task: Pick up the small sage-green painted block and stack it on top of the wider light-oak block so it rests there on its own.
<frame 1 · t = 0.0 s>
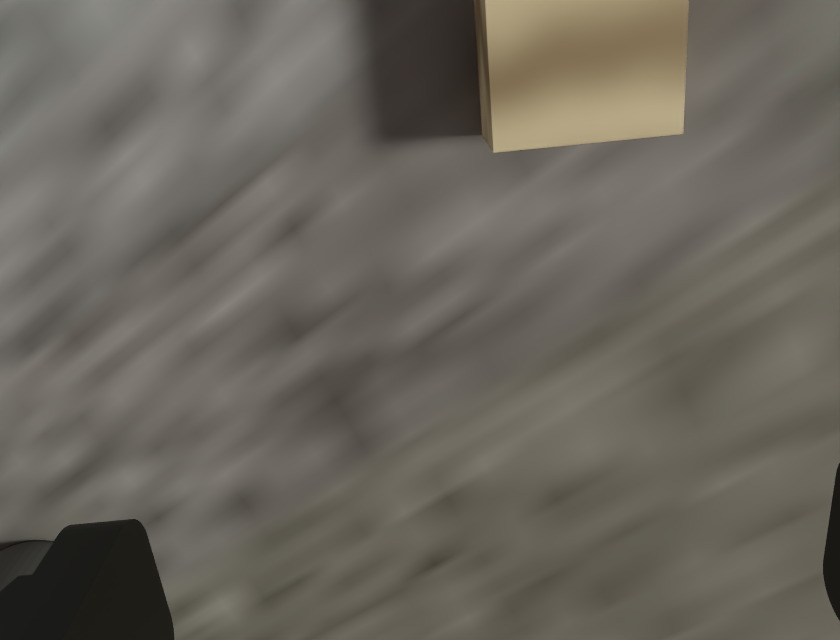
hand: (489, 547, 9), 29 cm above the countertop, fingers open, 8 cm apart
mug: (91, 597, 46), on the countertop
oak block: (562, 37, 34), on the countertop
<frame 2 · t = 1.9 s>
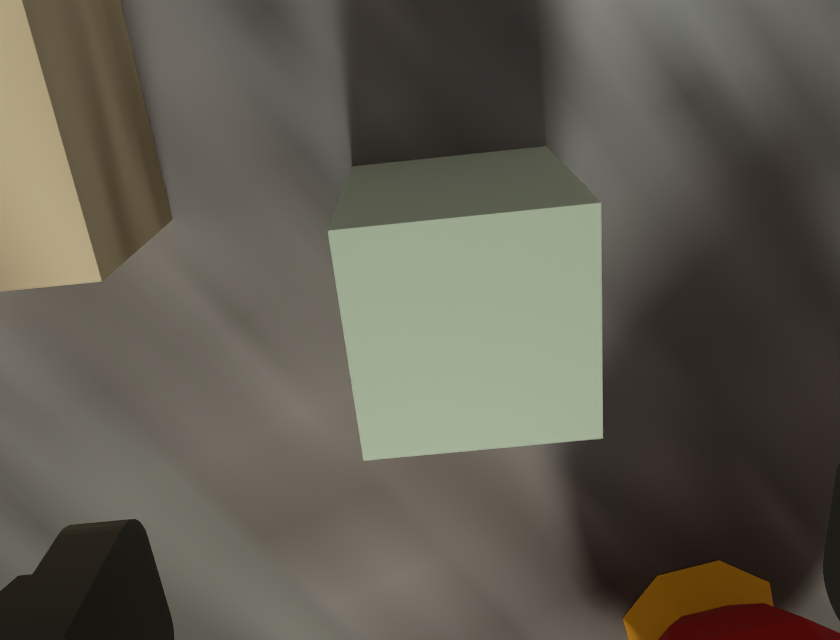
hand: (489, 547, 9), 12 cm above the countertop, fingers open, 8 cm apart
sage block: (456, 248, 20), on the countertop
potion bottle: (694, 617, 25), on the countertop
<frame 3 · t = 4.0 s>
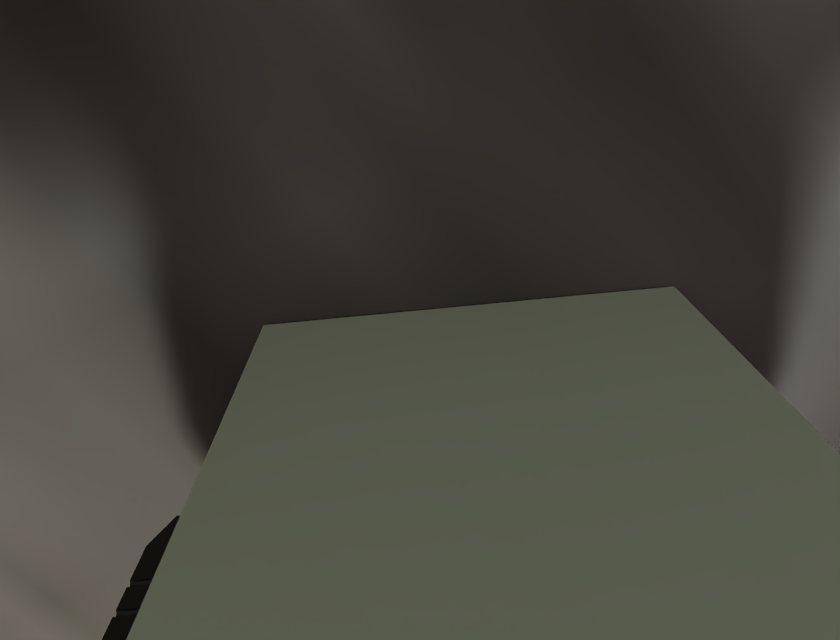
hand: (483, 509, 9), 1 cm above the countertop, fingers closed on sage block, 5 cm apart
sage block: (480, 477, 10), on the countertop, touching gripper
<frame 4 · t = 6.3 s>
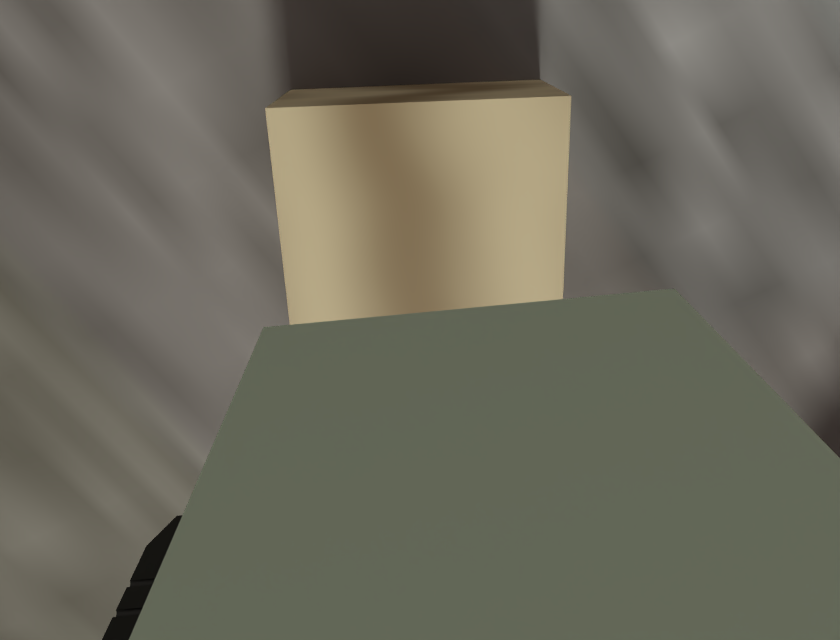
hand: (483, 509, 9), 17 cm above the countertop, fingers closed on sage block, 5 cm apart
sage block: (480, 479, 10), point 16 cm above the countertop, touching gripper
oak block: (420, 205, 26), on the countertop
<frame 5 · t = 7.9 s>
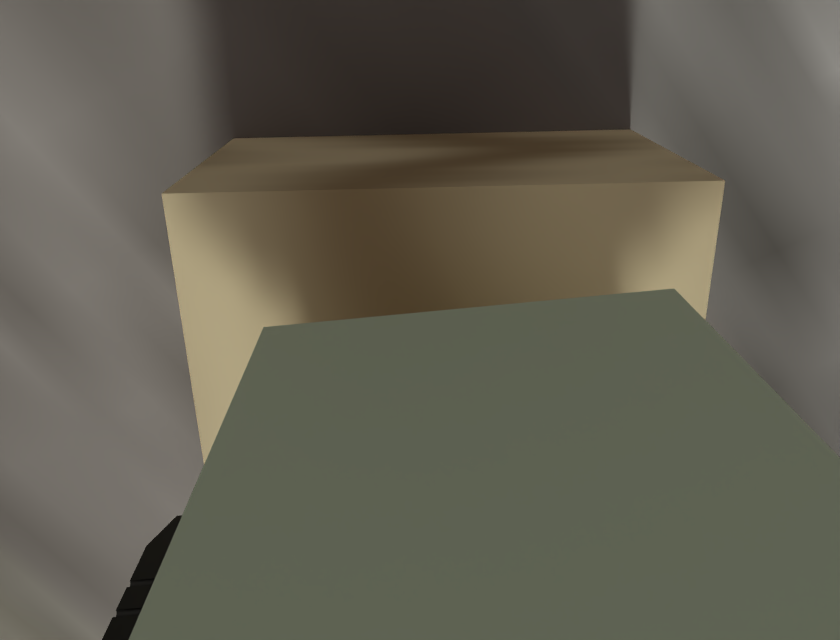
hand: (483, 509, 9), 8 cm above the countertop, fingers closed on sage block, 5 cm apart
sage block: (480, 479, 10), point 7 cm above the countertop, touching gripper
oak block: (434, 313, 17), on the countertop
when the fingers open (7 cm above the countertop, at t = 9.0 s): sage block drops 1 cm, resting on oak block.
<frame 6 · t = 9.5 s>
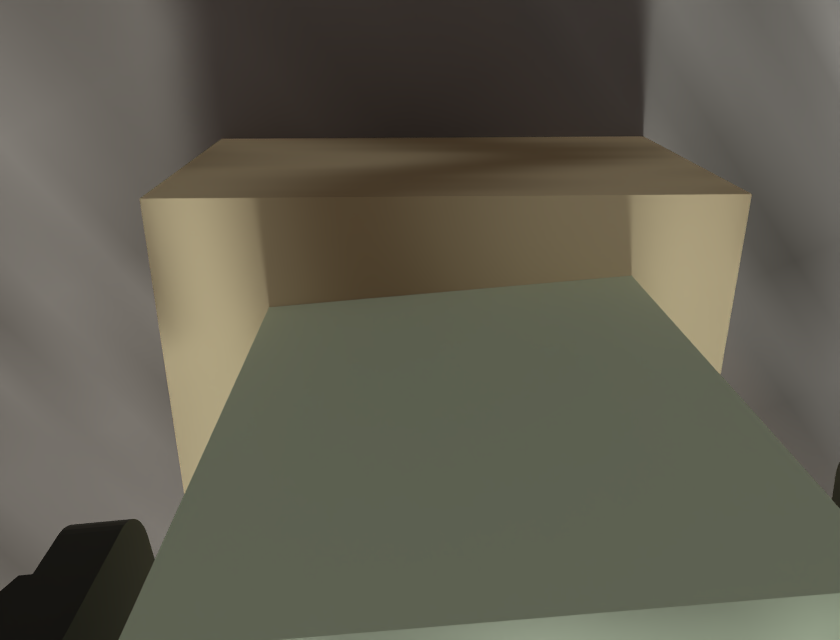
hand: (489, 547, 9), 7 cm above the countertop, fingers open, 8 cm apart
sage block: (461, 447, 11), point 5 cm above the countertop, touching oak block
oak block: (432, 326, 16), on the countertop, touching sage block
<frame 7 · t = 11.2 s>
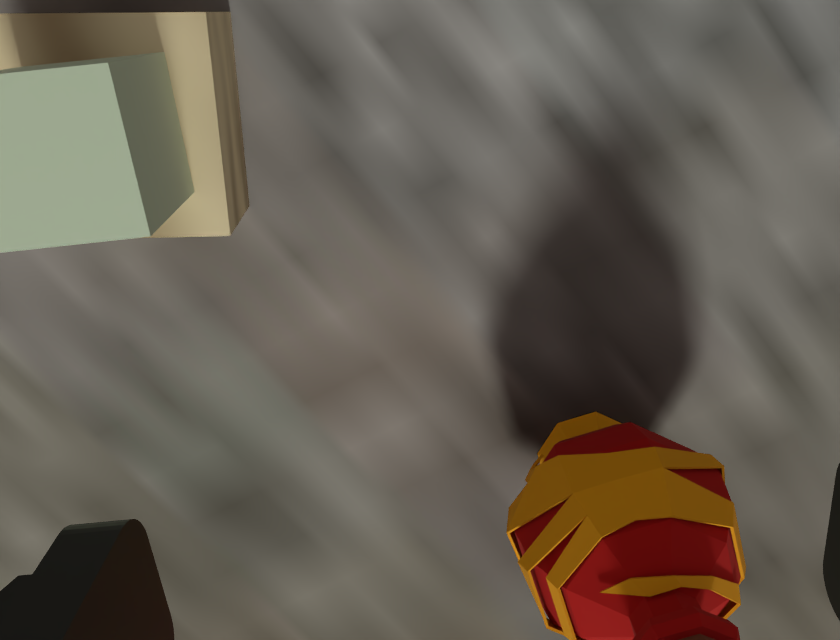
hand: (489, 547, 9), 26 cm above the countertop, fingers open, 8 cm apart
sage block: (111, 131, 27), point 5 cm above the countertop, touching oak block
oak block: (146, 114, 32), on the countertop, touching sage block
potion bottle: (583, 453, 39), on the countertop
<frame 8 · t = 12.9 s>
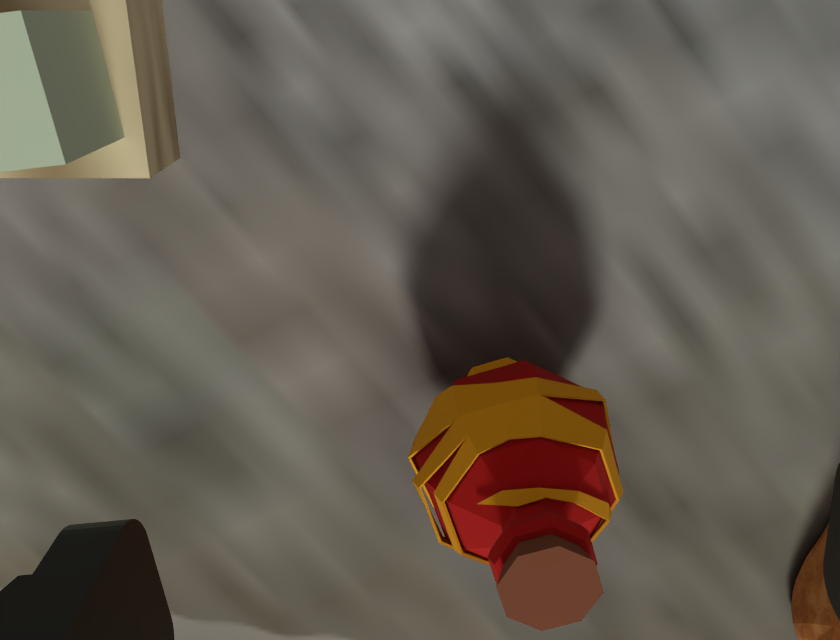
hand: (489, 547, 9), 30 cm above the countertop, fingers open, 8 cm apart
sage block: (49, 82, 31), point 5 cm above the countertop, touching oak block
oak block: (86, 71, 35), on the countertop, touching sage block
potion bottle: (498, 397, 42), on the countertop
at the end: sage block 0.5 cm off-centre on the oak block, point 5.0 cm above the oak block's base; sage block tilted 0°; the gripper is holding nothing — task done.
